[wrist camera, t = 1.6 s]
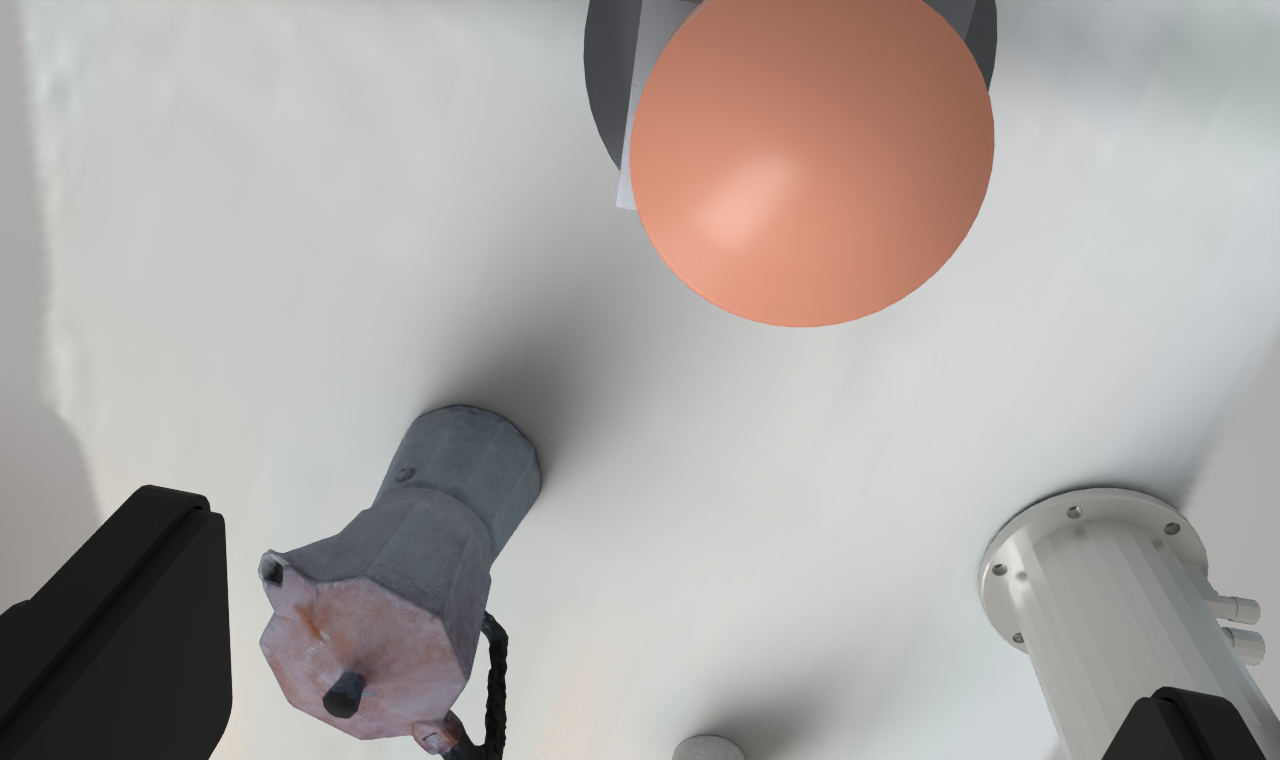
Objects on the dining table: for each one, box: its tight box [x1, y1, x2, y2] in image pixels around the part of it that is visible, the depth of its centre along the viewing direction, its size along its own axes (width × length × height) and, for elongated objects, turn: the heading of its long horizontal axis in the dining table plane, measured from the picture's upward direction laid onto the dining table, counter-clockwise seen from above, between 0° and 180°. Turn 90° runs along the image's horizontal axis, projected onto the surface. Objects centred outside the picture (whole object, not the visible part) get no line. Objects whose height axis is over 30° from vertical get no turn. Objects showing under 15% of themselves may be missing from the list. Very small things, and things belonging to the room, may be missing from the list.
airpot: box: [584, 0, 997, 211], centre depth 35 cm, size 13×19×21 cm
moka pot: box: [258, 405, 541, 760], centre depth 50 cm, size 10×15×20 cm, turn 42°
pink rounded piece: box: [629, 0, 994, 327], centre depth 21 cm, size 7×7×6 cm
